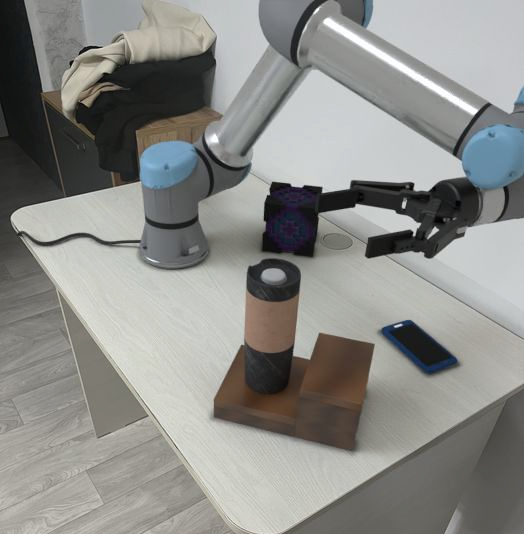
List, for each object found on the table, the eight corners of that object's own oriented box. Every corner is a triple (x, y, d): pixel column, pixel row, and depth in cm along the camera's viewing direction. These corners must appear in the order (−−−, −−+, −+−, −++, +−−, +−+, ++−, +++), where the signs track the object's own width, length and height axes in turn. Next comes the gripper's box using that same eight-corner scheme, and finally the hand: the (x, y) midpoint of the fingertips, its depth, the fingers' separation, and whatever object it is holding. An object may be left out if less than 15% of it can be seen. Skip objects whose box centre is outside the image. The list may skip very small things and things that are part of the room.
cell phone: (408, 321, 107) (409, 318, 106) (458, 363, 97) (459, 360, 97) (379, 330, 104) (379, 327, 103) (427, 375, 95) (428, 372, 94)
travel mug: (291, 396, 84) (303, 288, 71) (241, 394, 83) (245, 285, 71) (289, 364, 89) (300, 258, 77) (243, 362, 89) (247, 256, 76)
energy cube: (261, 251, 126) (264, 202, 118) (269, 227, 135) (272, 181, 127) (313, 257, 125) (318, 208, 117) (317, 233, 134) (322, 186, 126)
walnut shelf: (213, 417, 85) (212, 370, 79) (240, 361, 95) (241, 316, 89) (352, 451, 81) (363, 404, 74) (364, 389, 91) (375, 343, 85)
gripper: (515, 266, 75) (387, 296, 67) (408, 193, 92) (297, 211, 84) (535, 215, 70) (400, 242, 62) (418, 149, 87) (301, 163, 80)
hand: (340, 224), depth 73 cm, fingers open, 13 cm apart
